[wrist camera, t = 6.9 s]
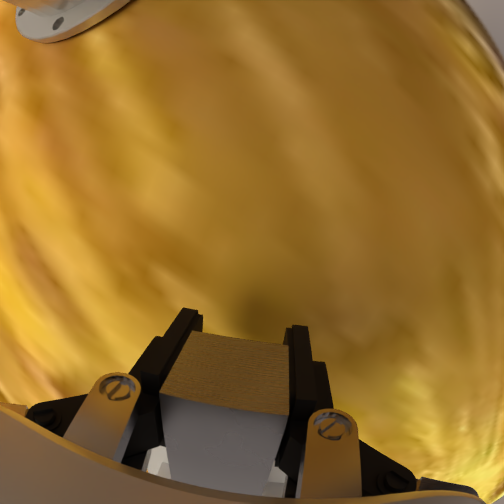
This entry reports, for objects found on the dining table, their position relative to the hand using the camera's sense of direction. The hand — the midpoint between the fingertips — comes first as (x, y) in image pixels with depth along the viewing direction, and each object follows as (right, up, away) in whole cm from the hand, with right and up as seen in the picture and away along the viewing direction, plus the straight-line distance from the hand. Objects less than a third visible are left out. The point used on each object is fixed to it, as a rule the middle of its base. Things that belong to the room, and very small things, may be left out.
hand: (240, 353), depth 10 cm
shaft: (-1, -8, +1) cm, 9 cm away
